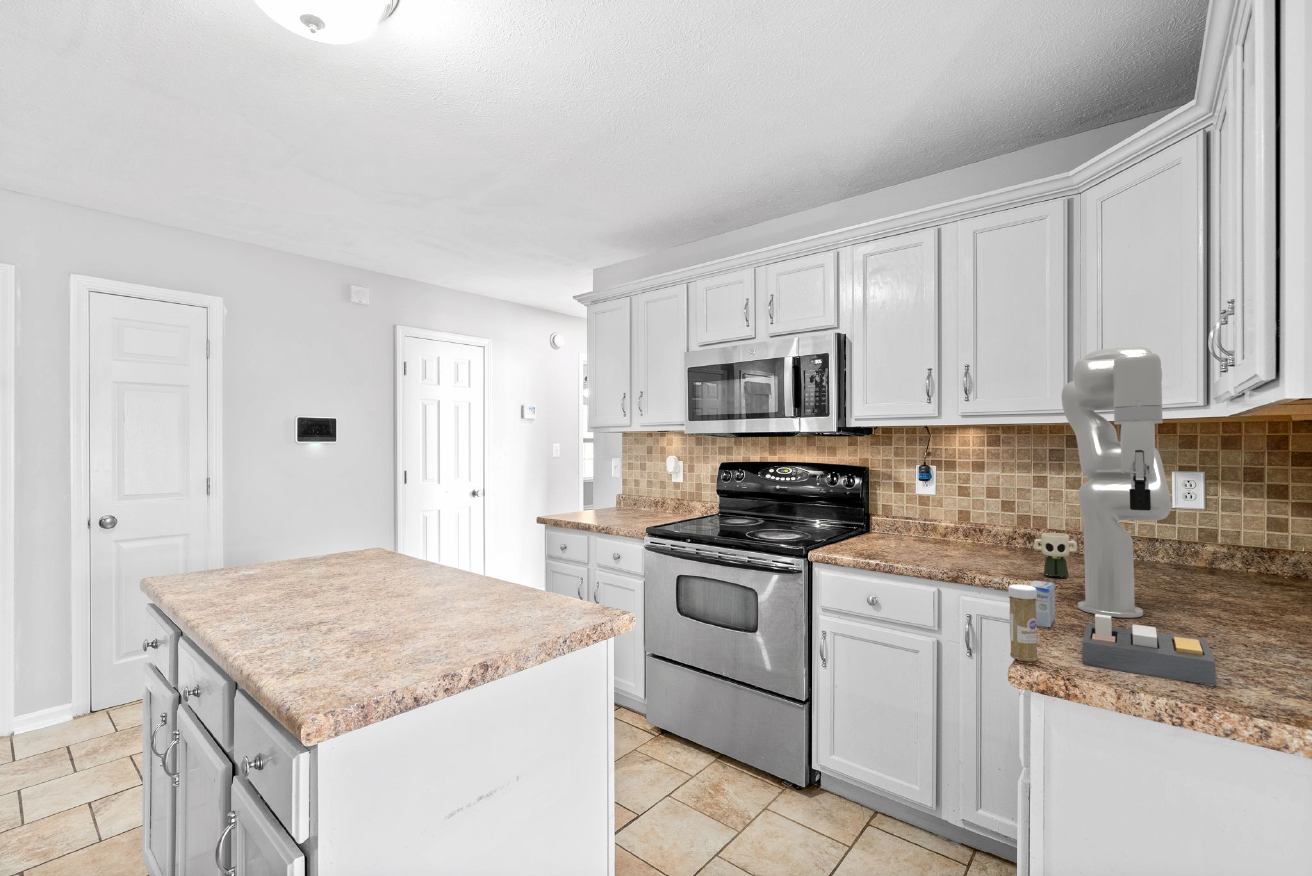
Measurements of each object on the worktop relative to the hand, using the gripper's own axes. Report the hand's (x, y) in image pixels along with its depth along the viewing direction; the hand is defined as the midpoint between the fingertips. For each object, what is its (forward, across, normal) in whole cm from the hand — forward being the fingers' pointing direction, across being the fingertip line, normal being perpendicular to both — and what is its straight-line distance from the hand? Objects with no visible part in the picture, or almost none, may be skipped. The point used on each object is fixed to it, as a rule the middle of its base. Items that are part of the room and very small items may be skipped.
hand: (1140, 509), depth 121 cm
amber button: (+24, +10, +6) cm, 27 cm away
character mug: (+27, -70, -20) cm, 78 cm away
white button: (+23, +10, 0) cm, 25 cm away
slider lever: (+24, +12, -6) cm, 28 cm away
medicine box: (+27, -10, -18) cm, 34 cm away
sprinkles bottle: (+27, +20, -18) cm, 38 cm away
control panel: (+27, +10, 0) cm, 29 cm away
